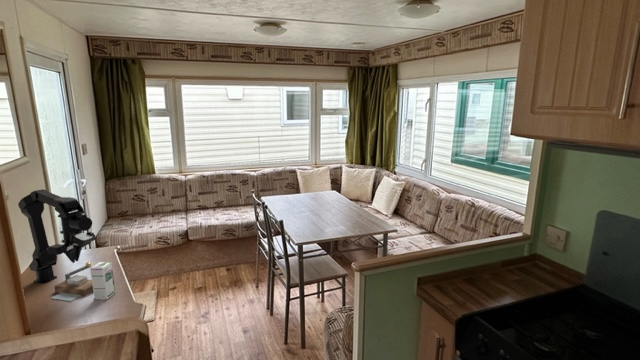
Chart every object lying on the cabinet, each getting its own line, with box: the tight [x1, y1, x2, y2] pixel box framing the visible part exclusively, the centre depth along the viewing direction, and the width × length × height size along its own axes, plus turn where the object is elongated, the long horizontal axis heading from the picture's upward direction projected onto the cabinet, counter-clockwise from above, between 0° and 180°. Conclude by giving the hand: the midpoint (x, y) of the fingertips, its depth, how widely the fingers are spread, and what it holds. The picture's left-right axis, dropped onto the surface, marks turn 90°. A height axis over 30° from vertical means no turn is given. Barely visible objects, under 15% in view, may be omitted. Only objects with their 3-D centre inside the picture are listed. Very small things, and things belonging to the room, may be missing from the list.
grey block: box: [67, 274, 88, 287], centre depth 153 cm, size 6×4×2 cm
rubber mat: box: [51, 292, 82, 303], centre depth 147 cm, size 10×5×1 cm, turn 77°
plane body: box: [53, 279, 94, 297], centre depth 154 cm, size 16×8×3 cm, turn 77°
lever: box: [64, 261, 92, 282], centre depth 159 cm, size 12×2×5 cm, turn 161°
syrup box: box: [89, 261, 116, 301], centre depth 147 cm, size 6×6×14 cm
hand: (75, 261), depth 152 cm, fingers closed
